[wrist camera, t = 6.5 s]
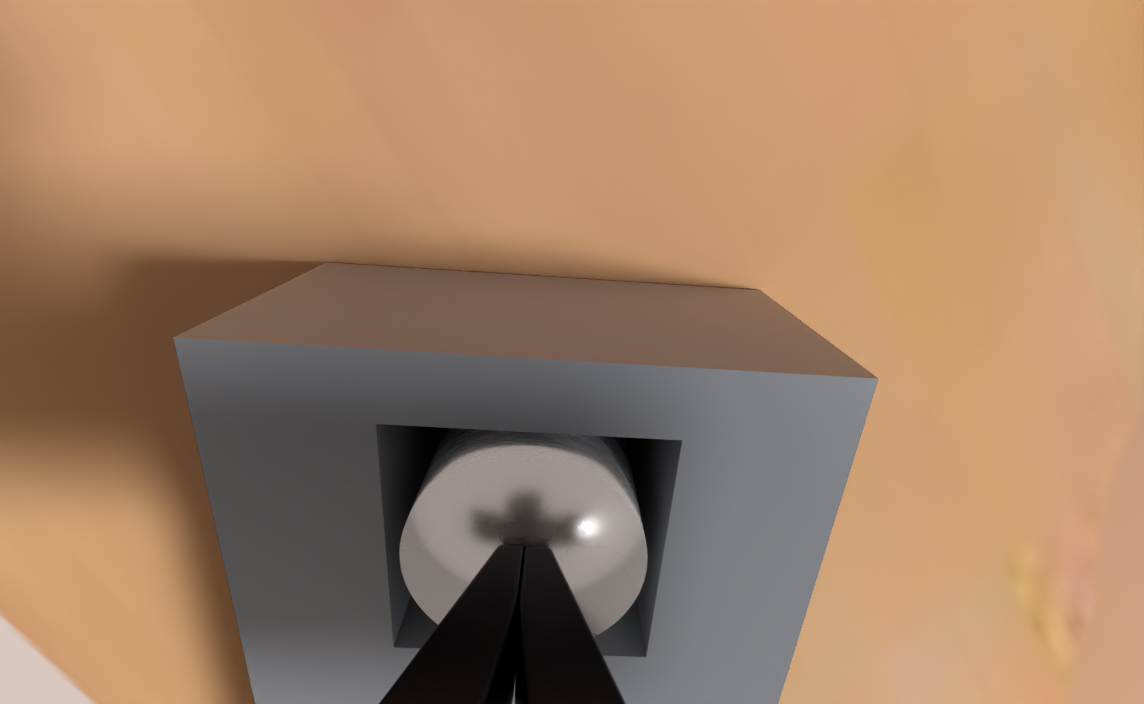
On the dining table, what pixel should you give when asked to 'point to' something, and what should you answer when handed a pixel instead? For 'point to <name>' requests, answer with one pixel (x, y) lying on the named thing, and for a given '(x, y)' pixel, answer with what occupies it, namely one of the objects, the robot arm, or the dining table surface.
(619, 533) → the peg
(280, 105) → the dining table surface
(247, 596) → the socket block
